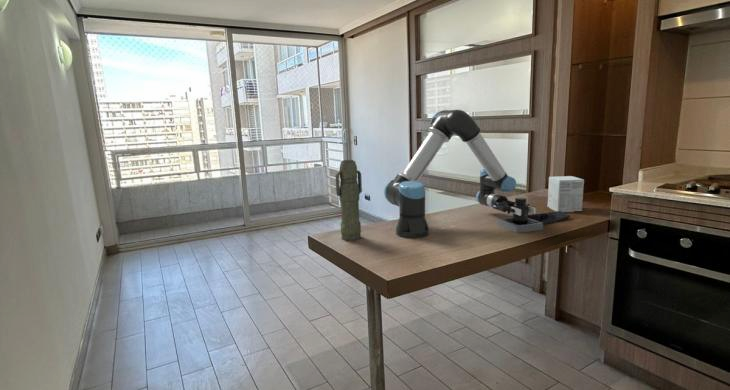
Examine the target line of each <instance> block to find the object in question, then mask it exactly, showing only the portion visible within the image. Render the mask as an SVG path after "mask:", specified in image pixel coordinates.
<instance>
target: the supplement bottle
mask: <svg viewBox="0 0 730 390" xmlns="http://www.w3.org/2000/svg"><path fill="white" fill-rule="evenodd" d="M514 199H515V200H514V202H516V203H515V204H514V205H513V207H515V208H518V209H521V216H519V215H517V214H514V213H512V217H513V223H514V224H516V225H526V224H528V215H529V212H528V205H527V204H528V203H527V198H526V197H520V196H519V197H515V198H514Z"/></svg>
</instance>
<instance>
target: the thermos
mask: <svg viewBox="0 0 730 390" xmlns="http://www.w3.org/2000/svg"><path fill="white" fill-rule="evenodd" d="M356 163H357V162H356V161H355V160H353V159H344V160H342V161H340V165H339V171H337V172H336V174H335V188H336V189H335V190H336V191H335V192H336V196H338V197H339V202H340V212H341V213H340V214H341V221H340V234H341V240H343V241H346V242H347V241H349V242H350V241H351V242H352V241H357V240H361V234H362V233H361V232H362V230H361V229H362V223H361V221H360V205H359V201H360V194H361V193H362V192H363V188H362V181H363V180H362V173H361V171H360V170H358V167H357V164H356Z"/></svg>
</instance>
